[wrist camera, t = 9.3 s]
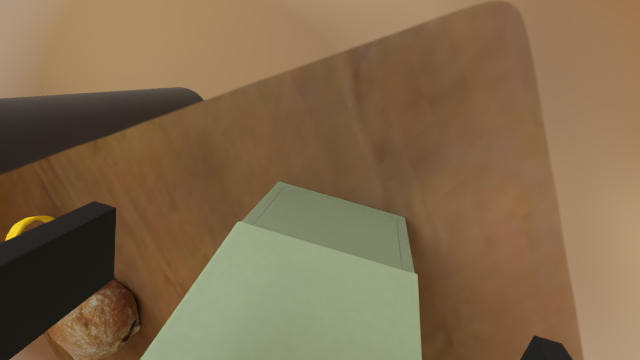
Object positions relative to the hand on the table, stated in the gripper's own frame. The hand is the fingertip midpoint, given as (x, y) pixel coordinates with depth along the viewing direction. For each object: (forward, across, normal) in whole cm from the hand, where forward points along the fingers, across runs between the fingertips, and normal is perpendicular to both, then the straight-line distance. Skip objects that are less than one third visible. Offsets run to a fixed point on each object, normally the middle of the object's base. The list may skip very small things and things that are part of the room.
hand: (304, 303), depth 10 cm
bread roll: (+22, -25, -28) cm, 44 cm away
